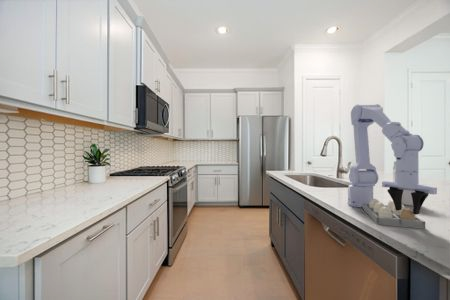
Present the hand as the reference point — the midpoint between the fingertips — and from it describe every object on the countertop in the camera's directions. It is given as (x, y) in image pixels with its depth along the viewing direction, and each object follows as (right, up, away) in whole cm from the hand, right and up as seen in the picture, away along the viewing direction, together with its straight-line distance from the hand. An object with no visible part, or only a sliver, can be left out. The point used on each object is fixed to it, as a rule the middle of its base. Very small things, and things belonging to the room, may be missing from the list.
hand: (407, 211), depth 72 cm
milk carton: (+21, -4, +26) cm, 33 cm away
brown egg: (0, -4, 0) cm, 4 cm away
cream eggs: (-1, -4, +7) cm, 8 cm away
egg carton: (-1, -4, +7) cm, 8 cm away
